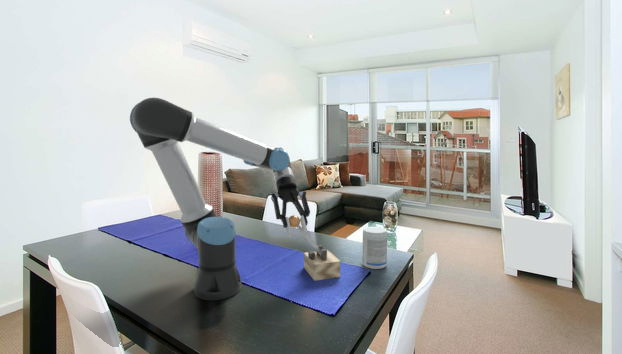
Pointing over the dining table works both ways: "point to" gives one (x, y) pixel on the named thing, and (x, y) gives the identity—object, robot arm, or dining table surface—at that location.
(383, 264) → the supplement tub
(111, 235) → the dining table surface
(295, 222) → the press lever
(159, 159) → the robot arm
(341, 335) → the dining table surface
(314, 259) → the block with knobs
